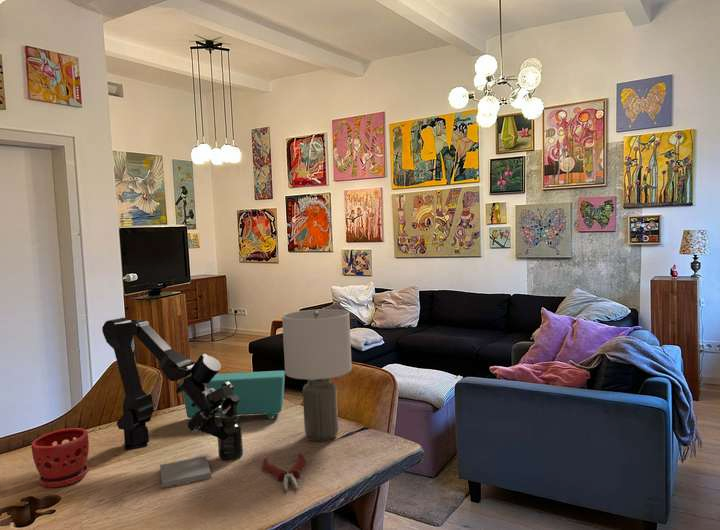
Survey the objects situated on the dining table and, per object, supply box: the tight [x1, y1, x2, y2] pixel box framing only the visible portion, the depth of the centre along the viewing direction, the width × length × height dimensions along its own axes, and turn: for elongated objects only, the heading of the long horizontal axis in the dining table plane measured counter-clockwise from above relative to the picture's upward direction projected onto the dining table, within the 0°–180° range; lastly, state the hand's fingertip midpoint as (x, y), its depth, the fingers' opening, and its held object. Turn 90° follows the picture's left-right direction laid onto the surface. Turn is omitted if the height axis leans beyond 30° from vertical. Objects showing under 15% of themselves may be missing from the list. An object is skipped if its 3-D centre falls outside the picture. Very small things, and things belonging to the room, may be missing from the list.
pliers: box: [262, 452, 306, 493], centre depth 142 cm, size 12×20×3 cm, turn 14°
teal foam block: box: [182, 370, 286, 419], centre depth 190 cm, size 34×10×15 cm, turn 93°
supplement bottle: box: [217, 413, 244, 462], centre depth 156 cm, size 7×7×12 cm
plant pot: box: [31, 427, 90, 488], centre depth 146 cm, size 13×13×12 cm
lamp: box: [281, 308, 353, 442], centre depth 168 cm, size 20×20×39 cm
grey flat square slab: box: [159, 456, 212, 488], centre depth 146 cm, size 12×12×2 cm
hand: (233, 434), depth 156 cm, fingers open, 7 cm apart
